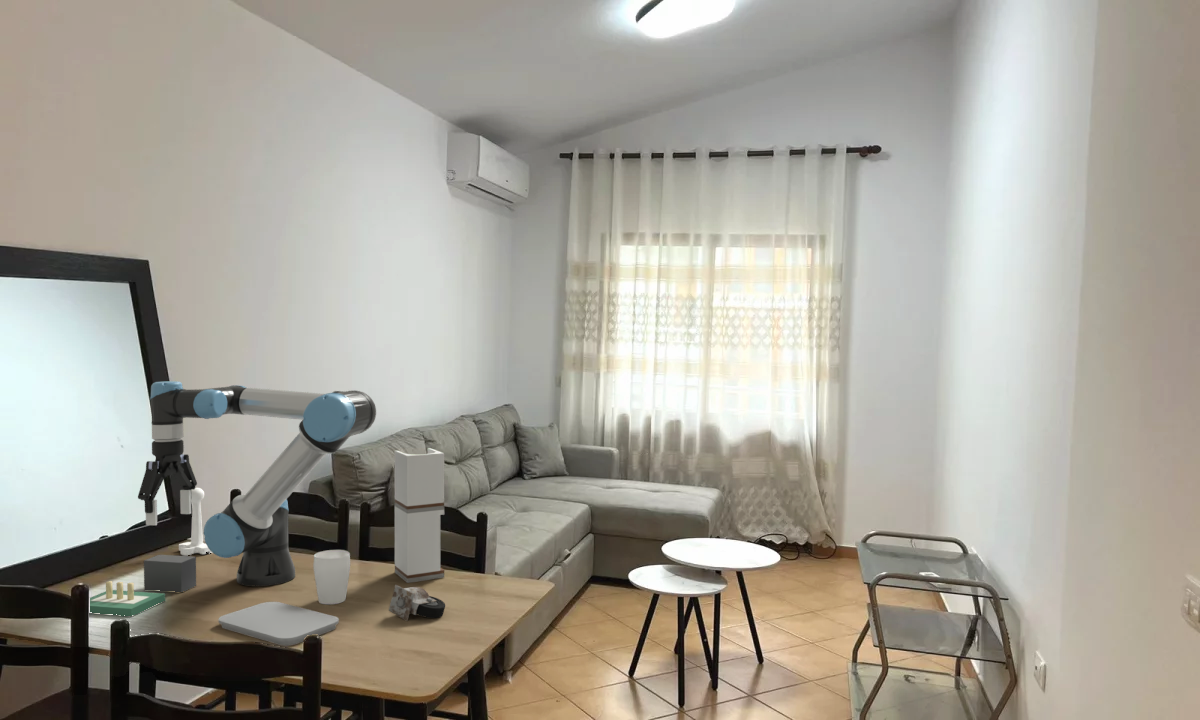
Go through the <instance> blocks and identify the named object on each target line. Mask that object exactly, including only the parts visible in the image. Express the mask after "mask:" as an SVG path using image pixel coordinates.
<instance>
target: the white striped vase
mask: <svg viewBox="0 0 1200 720" xmlns="http://www.w3.org/2000/svg"><path fill="white" fill-rule="evenodd" d="M393 454H394V456H393V457H394V573H395V574H396V575H397V576H399V578H401V579H402V580H403V581H405V582H406V583H407V584H408V583H416V582H423V581H429V580H436V579H441V578H445V570H444V568H443V567H441V515H443V516H444V515H445V452H442V451H439V450H437V449H433V448H431V447H429V448H427V453H425V454H424V453H422V454H419V453H418V454H410V453H405V452H402V451H401V450H398V449H397V450H394V453H393Z"/></svg>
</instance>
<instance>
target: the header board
mask: <svg viewBox="0 0 1200 720" xmlns="http://www.w3.org/2000/svg"><path fill="white" fill-rule="evenodd" d="M126 586H127V590H124V582H123V581H118V582H116V589H113V581H112V580H109V581H106V582H105V591H103V592H101V593H98V594H95V595H94V596H91V597H89V598H90V612H92V613H100V614H113V615H116V614H117V615H121V616H120V617H124V615H125V616H132V615H135V614H137V615H139V614H141V613H143V612H142V611H144V610H146V609H148V608H150V607H152V606H154V605H156V604H158V603H161V602H163V601H165V602H166V593H164V592H162V593H160V592H147V591H146V592H145V591H135V588H134V587H135V583H134V582H128V583H127V585H126ZM163 603H164V602H163ZM161 604H162V603H161ZM156 606H157V605H156ZM154 607H155V606H154ZM152 608H153V607H152ZM150 609H151V608H150ZM148 610H149V609H148ZM146 611H147V610H146ZM140 612H141V613H140ZM144 612H145V611H144ZM138 613H139V614H138ZM135 616H136V615H135Z"/></svg>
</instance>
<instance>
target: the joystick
mask: <svg viewBox="0 0 1200 720" xmlns="http://www.w3.org/2000/svg"><path fill="white" fill-rule="evenodd" d="M191 497H192V499H191V505H192V506H191V516H192V517H191V534H190V535H191V537H190V538H191V539H190V541H186V542H183V543H179V544H178V551H180V555H181V556H188V555H190V556H193V555H194V554H200V555H206V554H208V555H211V554H210V553H212V554H214V553H213V552H211V551H210V549H209V548H208V547H207V545H206V543H205V542H204V536H203V535H204V533H203V525H202V524H203V523H202V522H203V521H202V520H203V518H202V504H201V503H202V501H203V500H204V498H205V491H204V490H203V489H202V488H201V487H195V489H191ZM206 552H207V553H206ZM192 554H193V555H192Z"/></svg>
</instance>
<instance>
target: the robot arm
mask: <svg viewBox="0 0 1200 720" xmlns="http://www.w3.org/2000/svg"><path fill="white" fill-rule="evenodd" d="M149 400H150V410H151V411H150V412H151V413H150V414H151V439H152V440H153V441H152V442H151V454H152V455H153V456H155V461H153V460H151V461H149V460H148V461H146V463H145V471H144V475H143V478H142V482H141V484H140V488H139V492H138V495H137V499H138V500H140V501H144V512H145V525H146V526H157V525H158V499H155V498H156V497H157V494H158V492H159V490H160V488H161V486H162V483H163V482H164V480H165V479H166V478H167V477H168V476H171V475H173V477H174V478H175V479H176V481H177V483H178V484H179V485H180V487H181V488H182V489H180V490H179V498H180V499H179V500H180V501H179V502H180V503H179V504H180V514H181V515H192V501H191V499H192V497H191V490H192V489H195V488H196V486H197V485H198V483H197V480H196V479H197V478H196V477H195V473H194V471H193V468H192V465H191V463H190V458H189V456H190V455H189V454H184V448H185V447H184V446H185V445H184V440H183V438H184V418H186V419H187V418H189V419H194V418H195V419H206V420H209V419H219V418H221V417H222V416H223V415H242V416H244V415H245V416H255V417H267V418H279V419H280V418H281V419H289V420H300V422H299V424H298V431H299V432H298V434H297V435H296V436H295V437H294V438H293V440H292V441H291V442H290V443H289V444H288V446H286V448H284V450H283V451H282V452H281V453H280V455H279V456H278V457H277V458H276V459H275V460H274V461H273V462H272V464H271V465H270V466H269V467H268V468H267V469H266V471H265V472H264V473H263V474H262V475H261V477H259V479H258V480H257V481H256V482H255V483H254V484H253V486H251V488H249V490H248V491H247V493H245V494H239V495H237V496H235V497H234V498H233V499H232V500H231V502H230V503H229V504H228V505H227V506H226V507H225V508H224V509H223V510H222V511H221V512H218V513H215V514H213V515H211V516H210V517H209V518H208V519H207V521H206V522H205V524H204V526H203V535H204V536H203V540H204V543H205V544H206V545H207V547H208V548H209V549H210V551H211V552H213V553H212V554H214V555H215V556H217V557H219V558H223V559H228V558H232V557H236V556H237V557H238V556H240V555H241V554H242V557H241V559H240V562H239V566H238V569H237V571H236V583H237V584H239V585H242V586H246V587H247V586H248V587H267V586H276V585H279V584H283V583H287V582H289V581H291V580H293V579H295V577H296V567H295V565H294V561H293V558H292V556H291V553H290V550H289V511H290V510H289V504H288V498H289V497H290V496H291V495H292V493H293V492H294V491H295V490H296V489H297V488H298V487H299V485H300V484H301V483H302V482H303V481H304V480H305V479H306V478H307V477H308V475H309V474H310V473H311V472H312V470H314V468H316V466H317V465H318V464H319V463H320V462H321V461H322V459H324V457H325V456H326V455H328V454H329V455H330V454H336V453H337V451H338V450H339V449H340V448H341V447H342V446H343V444H344V443H346V441H348V439H349V438H350V437H352V436H356V435H360V434H362V433H364V432H366V431H367V430H369V429H370V428H371V427H372V426H373V424H374V422H375V421H376V416H377V407H376V404H375V402H374V400H373V399H372V397H370V395H369V394H367V393H365V392H363V391H360V390H348V391H347V390H346V391H345V390H344V391H341V390H334V391H331V392H329V393H318V392H309V391H307V392H306V391H305V392H304V391H293V390H282V389H270V388H269V389H268V388H257V387H254V388H253V387H246V386H244V385H239V384H238V385H235V384H234V385H230V386H223V387H211V388H210V387H209V388H203V389H202V388H201V389H200V388H199V389H197V388H196V389H185V388H183V383H182V382H181V381H176V380H175V381H173V380H171V381H155V382H153V383H152V384H151V386H150V398H149Z"/></svg>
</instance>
